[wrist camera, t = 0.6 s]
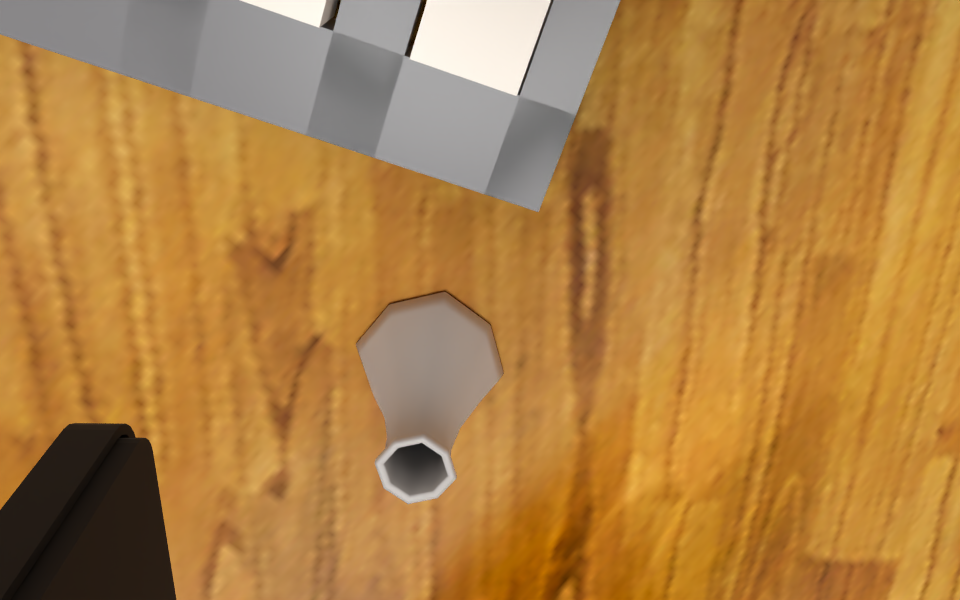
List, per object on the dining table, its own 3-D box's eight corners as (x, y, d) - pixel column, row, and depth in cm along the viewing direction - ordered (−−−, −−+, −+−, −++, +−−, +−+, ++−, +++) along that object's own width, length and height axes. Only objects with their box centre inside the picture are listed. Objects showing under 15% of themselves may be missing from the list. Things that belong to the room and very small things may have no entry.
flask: (450, 265, 43) (440, 364, 34) (527, 375, 46) (537, 494, 37) (331, 336, 45) (291, 448, 36) (412, 438, 47) (393, 567, 38)
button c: (448, -62, 36) (444, -57, 32) (550, -24, 36) (556, -17, 33) (416, 45, 37) (409, 58, 34) (514, 79, 38) (516, 96, 35)
